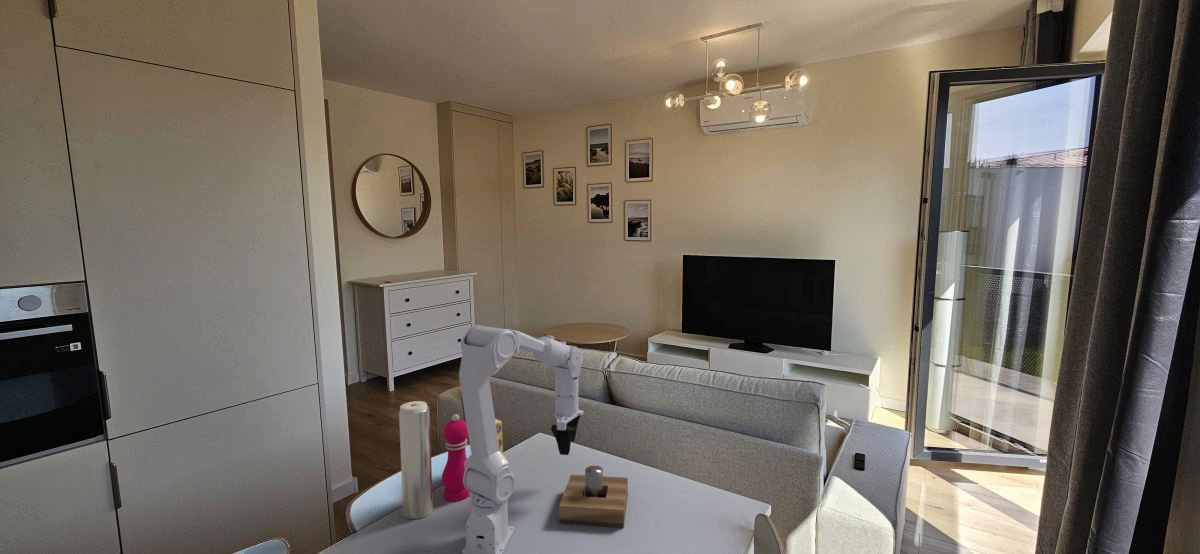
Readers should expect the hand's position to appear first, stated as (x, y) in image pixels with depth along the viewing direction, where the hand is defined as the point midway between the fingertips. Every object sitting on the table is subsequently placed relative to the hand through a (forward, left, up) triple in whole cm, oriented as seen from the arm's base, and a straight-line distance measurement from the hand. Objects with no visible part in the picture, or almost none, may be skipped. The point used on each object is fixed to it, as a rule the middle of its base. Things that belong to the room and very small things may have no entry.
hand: (567, 447), depth 118 cm
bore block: (-8, -8, -10) cm, 15 cm away
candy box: (+4, +22, -11) cm, 25 cm away
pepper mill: (-6, +26, -11) cm, 29 cm away
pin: (-8, -8, -9) cm, 15 cm away
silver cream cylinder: (-14, +32, -11) cm, 37 cm away
